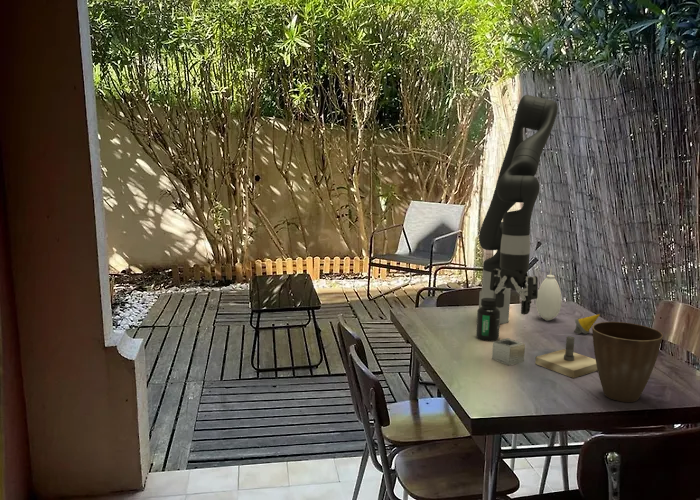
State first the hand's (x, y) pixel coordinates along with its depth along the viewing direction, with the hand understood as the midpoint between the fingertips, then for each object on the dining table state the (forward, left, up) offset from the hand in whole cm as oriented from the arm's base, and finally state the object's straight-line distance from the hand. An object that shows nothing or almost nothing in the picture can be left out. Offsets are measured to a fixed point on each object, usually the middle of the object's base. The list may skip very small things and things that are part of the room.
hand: (512, 310), depth 164 cm
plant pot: (+31, +4, -14) cm, 34 cm away
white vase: (-20, +42, -14) cm, 49 cm away
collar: (0, 0, -14) cm, 14 cm away
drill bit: (-4, +40, -14) cm, 43 cm away
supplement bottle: (-17, +10, -14) cm, 24 cm away
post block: (+12, +10, -14) cm, 21 cm away
